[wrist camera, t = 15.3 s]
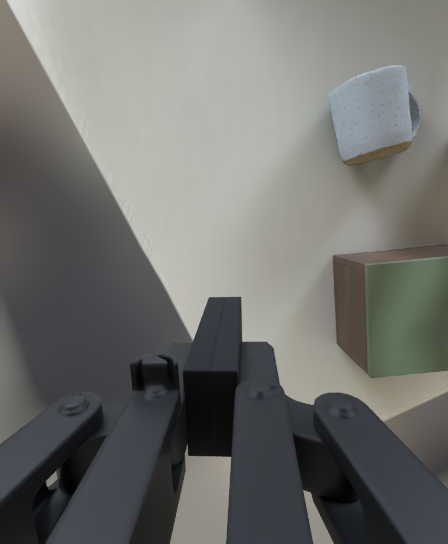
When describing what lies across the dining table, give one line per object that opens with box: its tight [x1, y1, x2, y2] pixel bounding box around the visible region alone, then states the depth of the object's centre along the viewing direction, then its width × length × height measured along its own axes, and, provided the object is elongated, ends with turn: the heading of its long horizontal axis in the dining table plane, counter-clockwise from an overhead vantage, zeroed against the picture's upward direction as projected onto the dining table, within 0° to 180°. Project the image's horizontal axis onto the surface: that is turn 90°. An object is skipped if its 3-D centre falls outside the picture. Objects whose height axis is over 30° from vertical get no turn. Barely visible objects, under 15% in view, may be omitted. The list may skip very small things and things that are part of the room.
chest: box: [333, 245, 448, 374], centre depth 37 cm, size 16×12×9 cm
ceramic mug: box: [328, 65, 420, 166], centre depth 35 cm, size 11×8×8 cm
